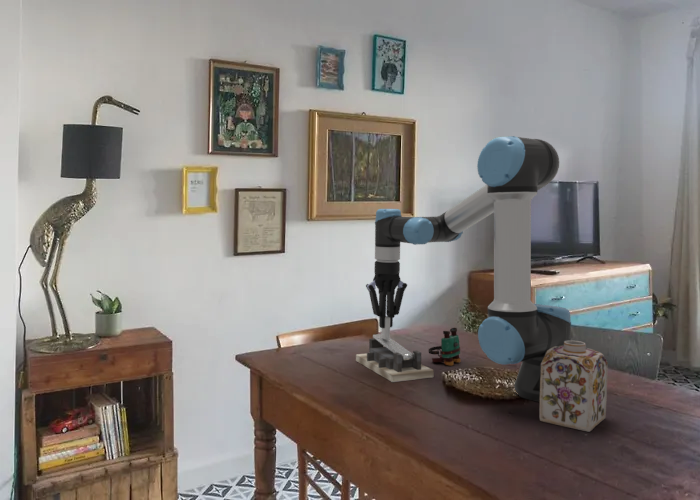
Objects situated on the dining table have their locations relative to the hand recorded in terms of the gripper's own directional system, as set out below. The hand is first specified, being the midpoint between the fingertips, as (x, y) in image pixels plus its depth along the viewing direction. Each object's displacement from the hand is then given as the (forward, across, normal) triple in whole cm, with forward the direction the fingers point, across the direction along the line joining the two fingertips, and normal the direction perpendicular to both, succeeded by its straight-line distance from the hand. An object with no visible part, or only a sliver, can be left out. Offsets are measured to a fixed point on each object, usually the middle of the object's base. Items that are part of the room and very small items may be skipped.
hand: (385, 338), depth 191 cm
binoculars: (+8, -18, +4) cm, 20 cm away
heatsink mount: (+8, 0, +5) cm, 10 cm away
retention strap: (+2, 0, +5) cm, 5 cm away
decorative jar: (+7, -18, +60) cm, 63 cm away
